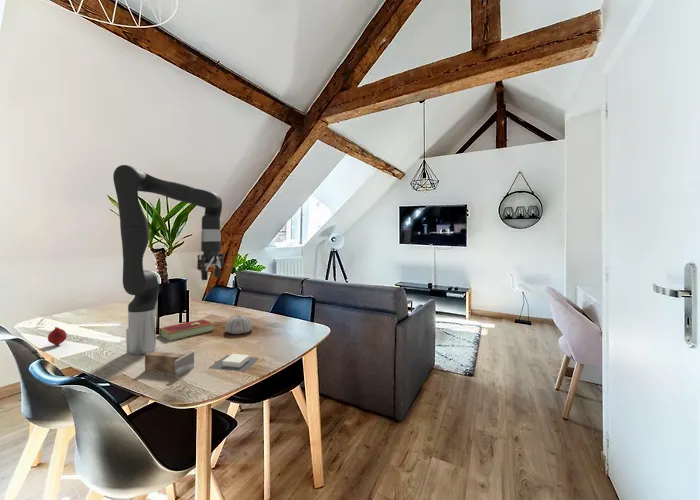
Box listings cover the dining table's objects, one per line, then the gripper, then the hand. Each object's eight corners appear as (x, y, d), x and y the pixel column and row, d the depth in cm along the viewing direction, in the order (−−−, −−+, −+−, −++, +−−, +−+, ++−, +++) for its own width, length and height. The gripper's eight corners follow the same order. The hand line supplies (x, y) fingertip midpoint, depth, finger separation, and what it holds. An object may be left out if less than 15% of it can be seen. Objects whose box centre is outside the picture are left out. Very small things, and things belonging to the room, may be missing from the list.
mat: (208, 369, 108) (208, 368, 108) (227, 356, 120) (227, 355, 120) (244, 372, 106) (244, 371, 106) (259, 359, 118) (259, 358, 118)
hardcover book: (159, 335, 144) (159, 327, 144) (203, 326, 160) (203, 318, 160) (169, 341, 136) (168, 332, 136) (214, 331, 153) (214, 323, 152)
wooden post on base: (138, 374, 104) (138, 357, 104) (157, 364, 112) (157, 348, 111) (177, 378, 101) (177, 360, 101) (194, 368, 109) (193, 352, 109)
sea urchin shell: (244, 326, 161) (244, 311, 161) (258, 331, 152) (258, 315, 152) (220, 331, 151) (219, 315, 151) (233, 337, 142) (233, 321, 142)
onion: (66, 341, 133) (66, 324, 133) (67, 345, 129) (66, 326, 128) (48, 345, 129) (47, 326, 128) (47, 348, 125) (47, 329, 124)
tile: (222, 360, 110) (239, 362, 109) (232, 353, 117) (249, 355, 116) (222, 366, 110) (239, 367, 109) (232, 358, 117) (249, 360, 116)
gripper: (213, 239, 133) (213, 276, 134) (191, 240, 119) (191, 280, 120) (228, 240, 132) (228, 276, 133) (208, 240, 118) (208, 281, 119)
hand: (211, 278), depth 126 cm, fingers open, 8 cm apart
